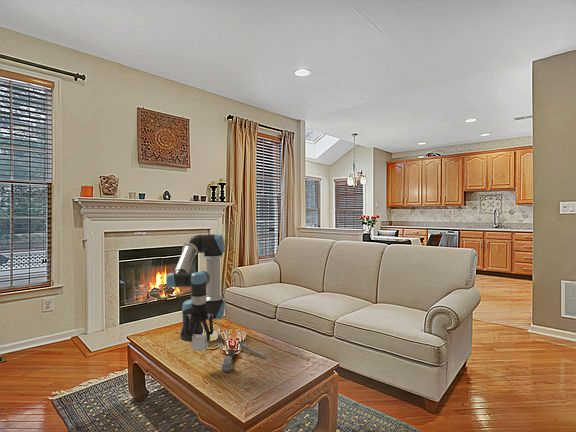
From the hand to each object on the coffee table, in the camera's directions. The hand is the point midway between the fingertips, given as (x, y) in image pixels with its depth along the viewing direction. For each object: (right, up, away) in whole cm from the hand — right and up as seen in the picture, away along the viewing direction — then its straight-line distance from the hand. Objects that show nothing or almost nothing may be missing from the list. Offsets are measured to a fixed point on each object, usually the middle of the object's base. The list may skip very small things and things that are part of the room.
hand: (200, 347), depth 175 cm
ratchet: (+14, -11, +6) cm, 19 cm away
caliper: (+25, -11, +16) cm, 31 cm away
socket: (0, 0, 0) cm, 0 cm away
